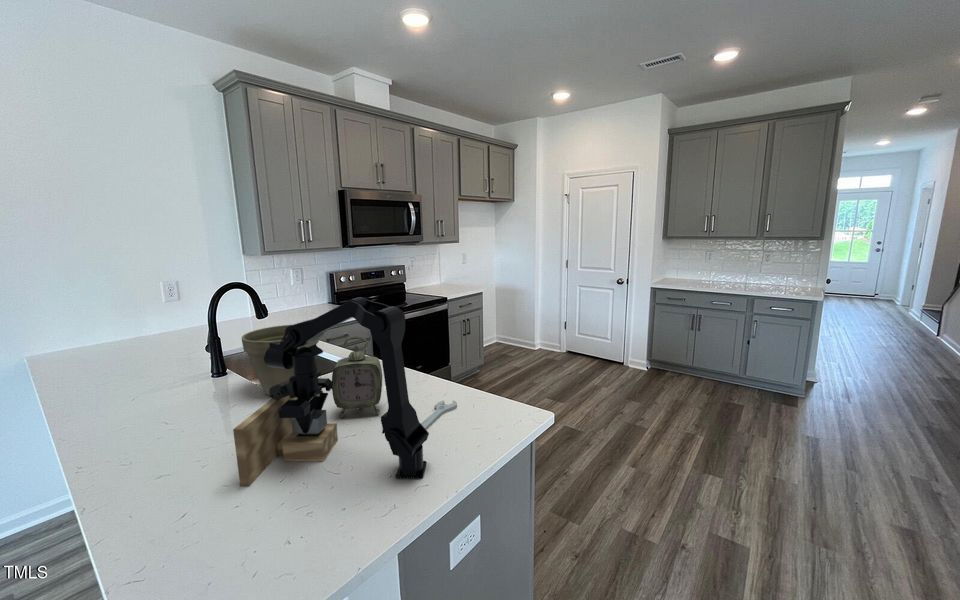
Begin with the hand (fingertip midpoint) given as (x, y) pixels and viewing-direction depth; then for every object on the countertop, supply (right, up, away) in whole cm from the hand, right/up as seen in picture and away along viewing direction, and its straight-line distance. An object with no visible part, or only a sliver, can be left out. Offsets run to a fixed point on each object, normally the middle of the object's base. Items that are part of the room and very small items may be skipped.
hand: (310, 427), depth 104 cm
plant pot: (-27, +1, +42) cm, 50 cm away
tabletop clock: (+6, -3, +23) cm, 24 cm away
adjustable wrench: (+29, -4, +18) cm, 35 cm away
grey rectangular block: (0, -4, +1) cm, 4 cm away
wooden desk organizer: (-3, -6, +1) cm, 7 cm away
